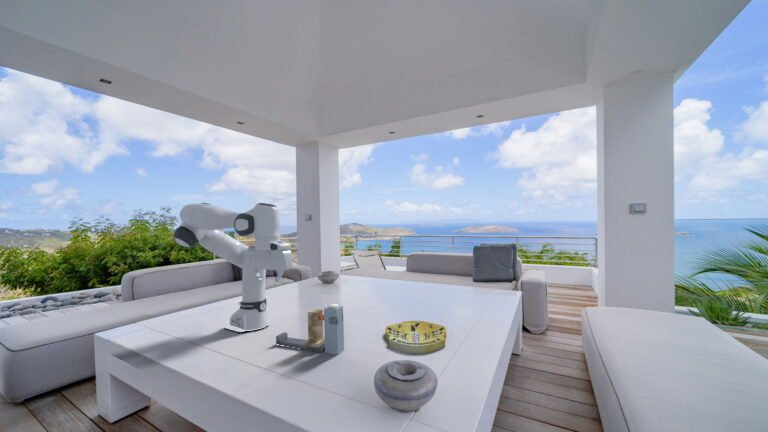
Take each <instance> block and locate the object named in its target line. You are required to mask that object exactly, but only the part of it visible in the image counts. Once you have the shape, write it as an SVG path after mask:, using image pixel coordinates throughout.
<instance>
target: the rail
mask: <svg viewBox="0 0 768 432" xmlns="http://www.w3.org/2000/svg"><path fill="white" fill-rule="evenodd" d="M306 340H307V339H302V338H295V337H290V336H289V337H288V332H284V331H283V332H281V333H280V334H278V335H276V336H275V345H276V344H279V345H284V346H289V347H295V348H300V349H299V350H302V349H305V350H304V351H308V350H310V351H309V352H316V353H322V354H323V353H325V343H324V344H323V345H321V346H320V347H311V346H304V341H306ZM289 347H288V348H289ZM295 348H294V349H295Z"/></svg>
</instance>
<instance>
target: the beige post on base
mask: <svg viewBox="0 0 768 432" xmlns="http://www.w3.org/2000/svg"><path fill="white" fill-rule="evenodd" d="M319 314H324V309H316V308H313V309H311V310H309V311H307V331H308V332H307V336H308V337H307V339H305V340H306V341H304V346H311V347H320V346H321V345H323V344H324V343H325V336H324V320H319V319H318V315H319Z"/></svg>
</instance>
